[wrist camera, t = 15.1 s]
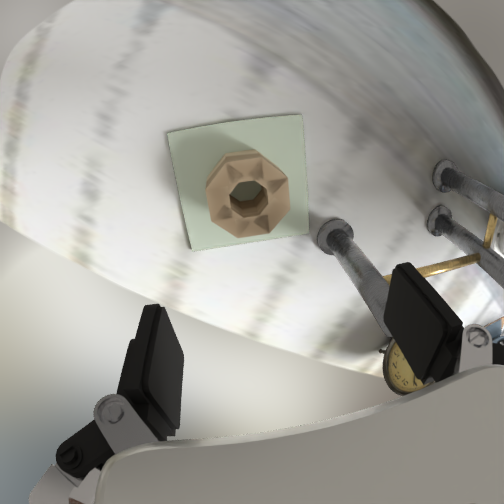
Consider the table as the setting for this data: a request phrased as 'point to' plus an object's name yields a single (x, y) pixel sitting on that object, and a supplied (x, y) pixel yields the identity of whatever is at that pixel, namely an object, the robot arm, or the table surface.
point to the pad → (209, 154)
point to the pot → (250, 211)
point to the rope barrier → (439, 223)
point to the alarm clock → (399, 371)
